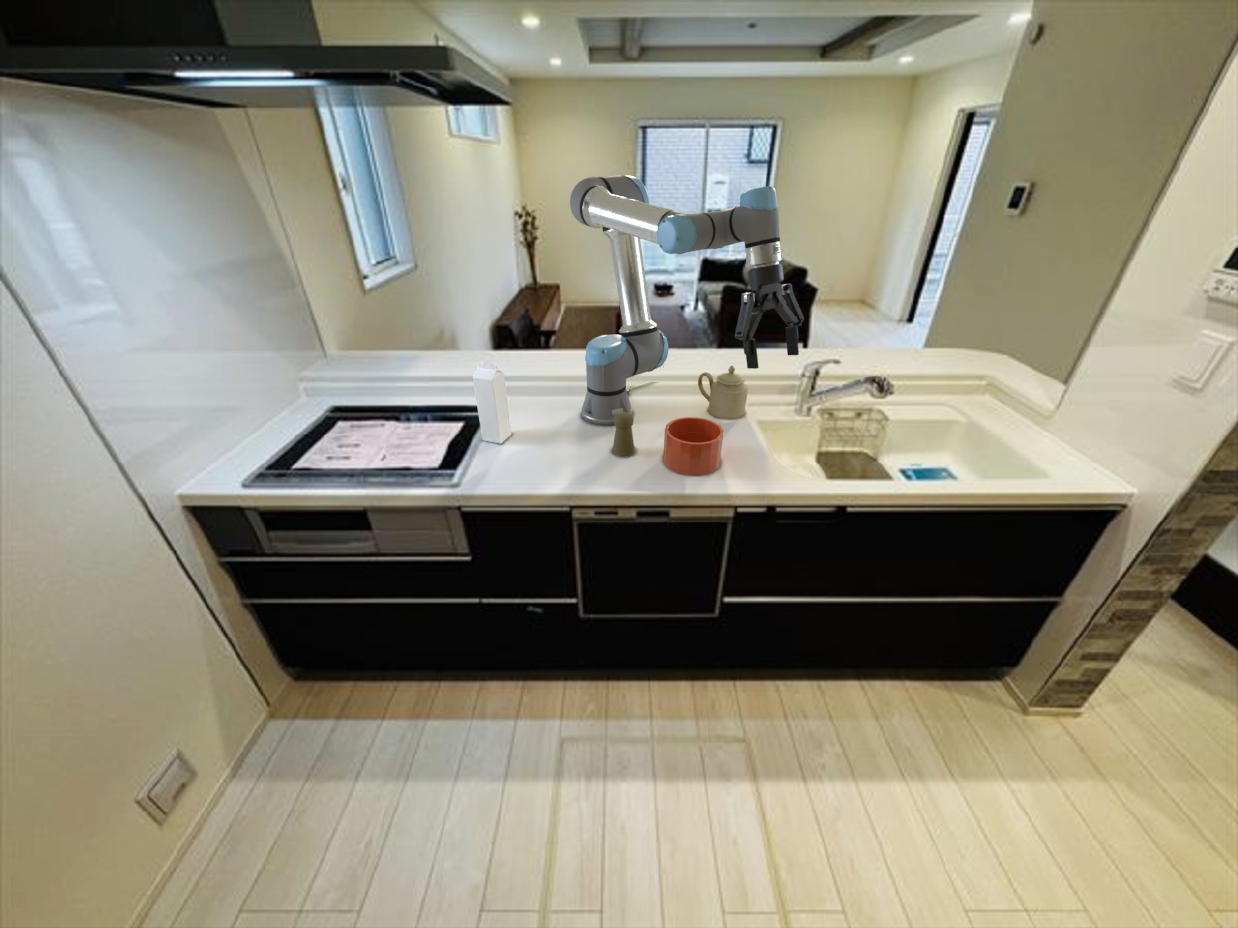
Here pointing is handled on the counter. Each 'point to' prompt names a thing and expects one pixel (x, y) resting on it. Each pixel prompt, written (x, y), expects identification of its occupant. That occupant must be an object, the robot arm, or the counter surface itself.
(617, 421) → the cork
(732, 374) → the beige ceramic rounded vessel
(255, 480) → the counter surface
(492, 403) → the milk
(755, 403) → the counter surface
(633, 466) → the counter surface
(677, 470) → the pot
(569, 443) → the counter surface
